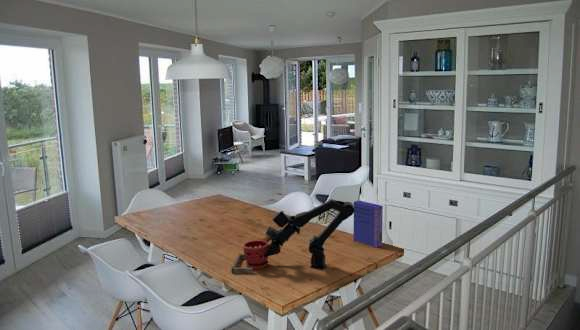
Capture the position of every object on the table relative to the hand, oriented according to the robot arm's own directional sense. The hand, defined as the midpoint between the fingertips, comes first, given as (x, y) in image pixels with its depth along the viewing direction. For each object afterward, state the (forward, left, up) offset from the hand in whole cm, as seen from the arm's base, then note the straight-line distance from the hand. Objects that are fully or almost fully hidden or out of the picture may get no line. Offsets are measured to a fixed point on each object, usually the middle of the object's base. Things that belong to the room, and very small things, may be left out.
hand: (265, 253), depth 241 cm
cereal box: (-35, -56, -7) cm, 67 cm away
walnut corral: (+9, +4, -7) cm, 12 cm away
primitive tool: (+21, -33, -7) cm, 40 cm away
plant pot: (+4, +2, -7) cm, 8 cm away
